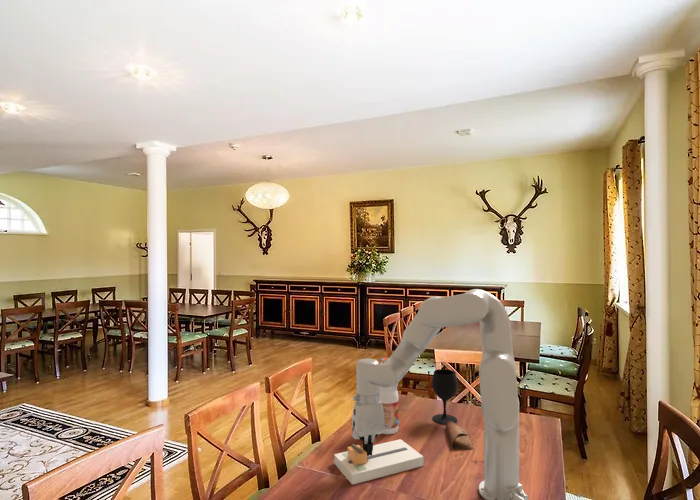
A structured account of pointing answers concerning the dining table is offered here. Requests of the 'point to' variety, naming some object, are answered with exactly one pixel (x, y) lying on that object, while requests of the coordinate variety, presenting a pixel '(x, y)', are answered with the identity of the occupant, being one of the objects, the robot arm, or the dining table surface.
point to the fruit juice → (389, 406)
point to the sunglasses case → (458, 437)
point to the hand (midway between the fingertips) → (367, 453)
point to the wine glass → (444, 392)
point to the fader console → (380, 462)
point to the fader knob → (357, 454)
